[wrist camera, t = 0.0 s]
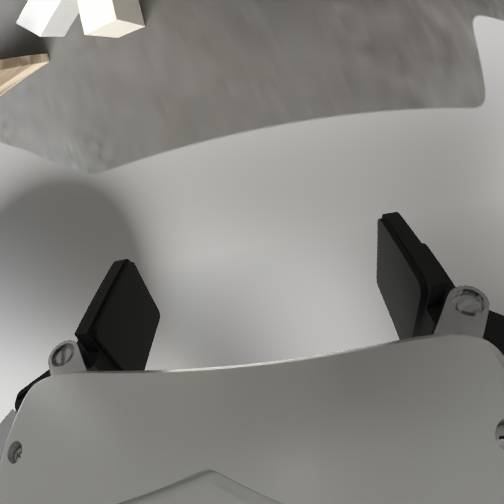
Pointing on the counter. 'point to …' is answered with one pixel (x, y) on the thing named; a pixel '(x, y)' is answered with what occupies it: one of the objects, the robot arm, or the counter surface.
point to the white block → (110, 17)
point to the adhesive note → (48, 17)
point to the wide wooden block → (19, 69)
